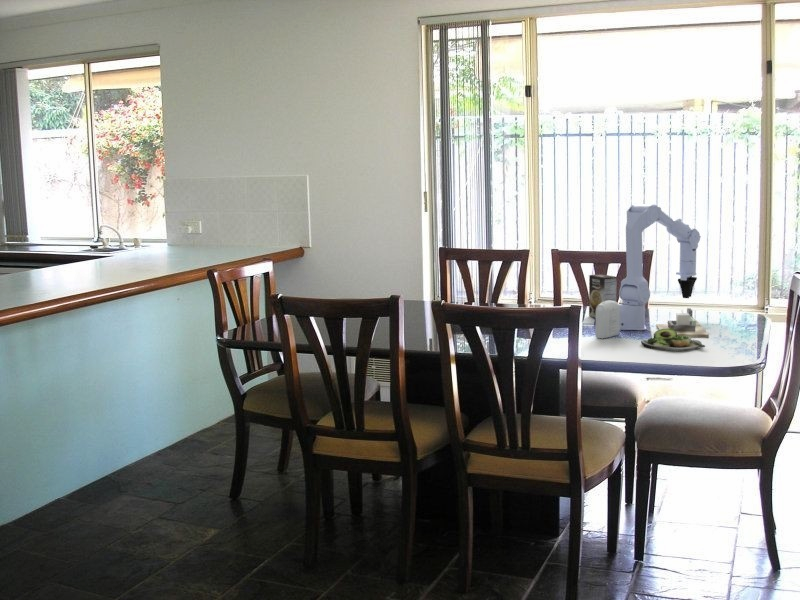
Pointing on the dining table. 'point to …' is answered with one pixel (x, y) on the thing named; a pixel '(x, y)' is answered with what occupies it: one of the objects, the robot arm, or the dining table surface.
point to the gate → (691, 316)
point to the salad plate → (671, 341)
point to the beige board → (685, 329)
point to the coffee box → (601, 291)
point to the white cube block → (682, 319)
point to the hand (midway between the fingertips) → (686, 297)
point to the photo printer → (607, 319)
